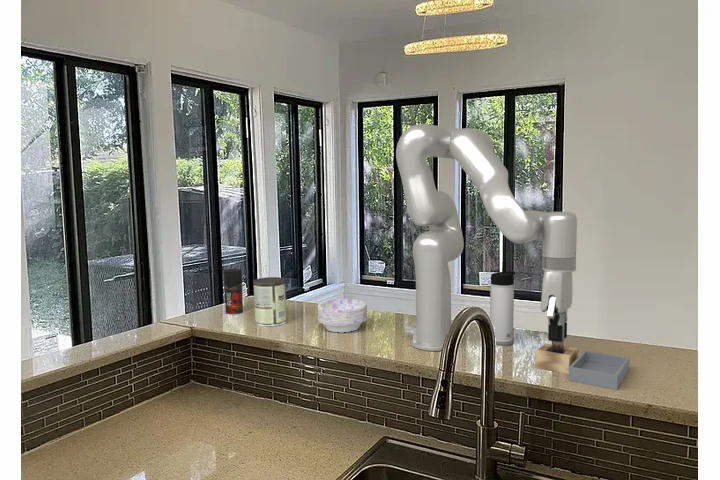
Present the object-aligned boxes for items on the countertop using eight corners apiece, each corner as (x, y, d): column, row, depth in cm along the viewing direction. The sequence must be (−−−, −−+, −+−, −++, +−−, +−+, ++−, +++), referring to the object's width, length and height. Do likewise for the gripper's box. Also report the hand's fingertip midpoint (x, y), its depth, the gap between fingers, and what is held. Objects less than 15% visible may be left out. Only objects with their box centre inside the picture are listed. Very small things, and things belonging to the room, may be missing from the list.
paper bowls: (322, 337, 158) (321, 311, 157) (314, 324, 173) (313, 300, 172) (372, 333, 162) (372, 307, 161) (360, 320, 177) (360, 296, 176)
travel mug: (515, 346, 147) (516, 273, 145) (490, 345, 149) (491, 273, 146) (513, 339, 153) (514, 269, 151) (489, 338, 155) (490, 269, 152)
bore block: (534, 367, 131) (534, 351, 130) (544, 358, 137) (545, 343, 137) (568, 374, 126) (569, 357, 126) (577, 364, 132) (578, 348, 132)
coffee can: (260, 318, 182) (259, 276, 180) (290, 319, 180) (289, 277, 179) (250, 326, 172) (248, 282, 170) (281, 327, 170) (280, 283, 168)
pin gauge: (548, 356, 131) (549, 307, 130) (552, 352, 133) (553, 304, 132) (562, 358, 129) (563, 309, 128) (566, 354, 132) (567, 306, 130)
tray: (568, 380, 122) (568, 367, 122) (584, 362, 133) (584, 350, 133) (616, 390, 116) (617, 376, 116) (628, 370, 128) (629, 358, 127)
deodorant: (223, 314, 188) (221, 271, 186) (228, 310, 194) (226, 268, 192) (240, 314, 187) (238, 271, 186) (245, 310, 193) (243, 268, 192)
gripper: (553, 258, 138) (551, 329, 140) (531, 267, 124) (530, 345, 126) (584, 260, 133) (582, 333, 135) (565, 270, 120) (563, 351, 122)
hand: (557, 338), depth 131 cm, fingers closed on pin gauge, 2 cm apart
